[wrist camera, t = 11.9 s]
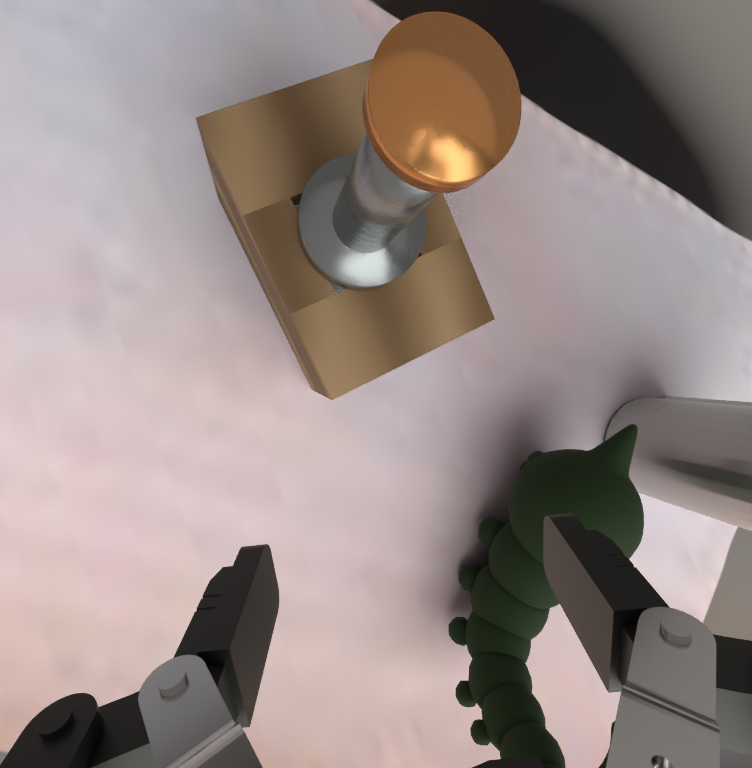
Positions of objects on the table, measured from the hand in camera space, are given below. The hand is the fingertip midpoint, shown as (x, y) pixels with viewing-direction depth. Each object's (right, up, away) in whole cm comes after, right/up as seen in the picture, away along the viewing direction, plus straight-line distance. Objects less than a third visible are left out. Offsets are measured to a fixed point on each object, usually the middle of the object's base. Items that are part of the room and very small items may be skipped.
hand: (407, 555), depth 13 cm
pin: (-4, +14, +20) cm, 24 cm away
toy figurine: (+11, -9, +27) cm, 31 cm away
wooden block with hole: (-5, +14, +22) cm, 27 cm away
